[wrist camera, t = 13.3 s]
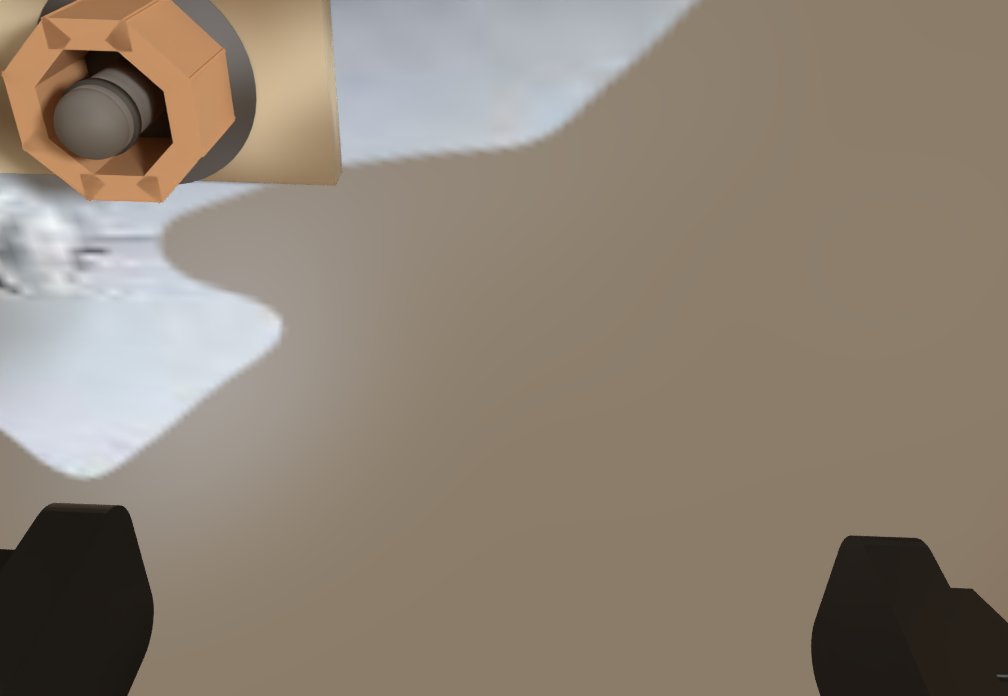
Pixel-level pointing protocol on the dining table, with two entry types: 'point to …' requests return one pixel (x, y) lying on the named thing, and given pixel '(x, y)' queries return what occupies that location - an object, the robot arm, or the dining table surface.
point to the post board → (253, 82)
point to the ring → (157, 54)
